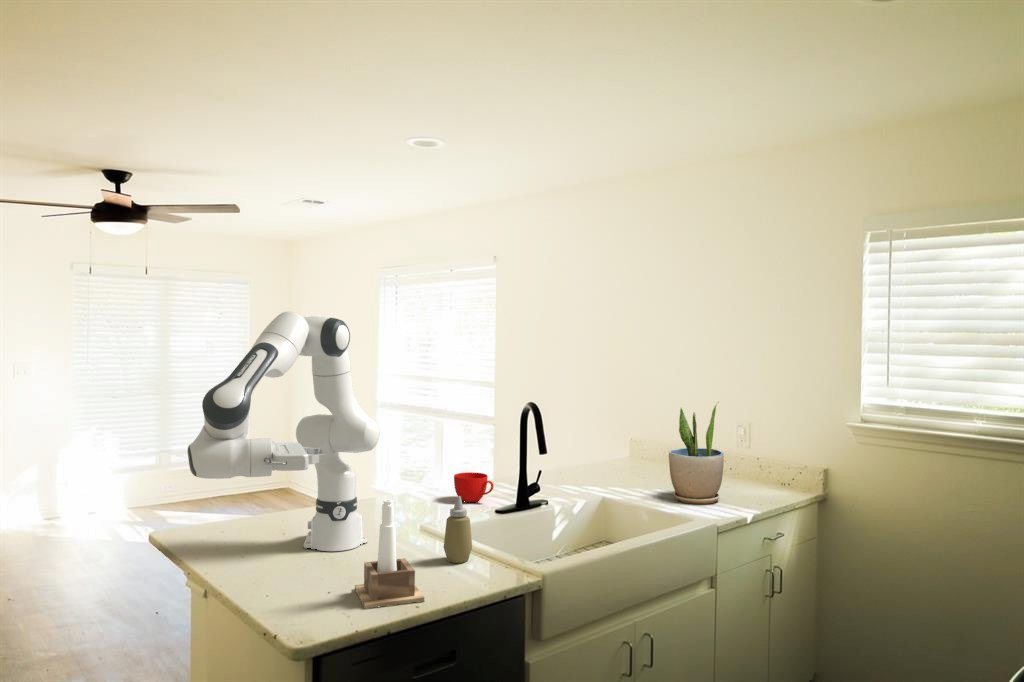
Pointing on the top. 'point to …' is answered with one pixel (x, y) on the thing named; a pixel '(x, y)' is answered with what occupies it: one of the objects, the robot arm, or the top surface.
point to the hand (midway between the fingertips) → (324, 454)
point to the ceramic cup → (471, 486)
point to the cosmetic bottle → (387, 539)
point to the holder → (388, 585)
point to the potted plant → (696, 465)
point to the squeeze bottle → (458, 534)
